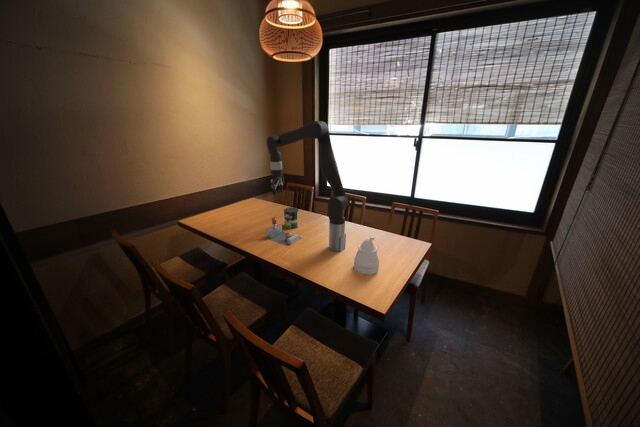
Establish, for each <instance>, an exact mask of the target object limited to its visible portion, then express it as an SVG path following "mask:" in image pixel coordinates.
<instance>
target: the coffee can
mask: <svg viewBox="0 0 640 427" xmlns="http://www.w3.org/2000/svg"><path fill="white" fill-rule="evenodd" d="M283 215H284V216H283V217H284V228H286V229H288V230H293V229H297V228H299V226H300V225H299V224H300V223H299V208H297V207H291V206H290V207H285V208H284V209H283Z"/></svg>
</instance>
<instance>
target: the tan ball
mask: <svg viewBox="0 0 640 427" xmlns="http://www.w3.org/2000/svg"><path fill="white" fill-rule="evenodd" d="M285 233H286V237H287V238H290V237H291V236H292V235H293V233H292V232H290V231H287V232H285Z"/></svg>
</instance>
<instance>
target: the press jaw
mask: <svg viewBox="0 0 640 427" xmlns="http://www.w3.org/2000/svg"><path fill="white" fill-rule="evenodd" d="M271 222H272V224H271V225H272V227H270V228H269V229H266V234H267V235H266V236H267V237H268V238H272V237H274V236H276V235H278V234H280V233H282V232H283V225H281V224H277V217H272V218H271Z"/></svg>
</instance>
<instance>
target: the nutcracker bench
mask: <svg viewBox="0 0 640 427" xmlns="http://www.w3.org/2000/svg"><path fill="white" fill-rule="evenodd" d="M286 233H287V232H285V231H282V233H280V234H278V235H276V236H274V237H272V238H268V237H267V235H266V236H264V237H263V239H267V240H269V241H271V242H275V243H277V244H280V245H283V246H287V247H289V246H291V245H294V243H296V242H298V241H299V240H301V239H302V237H301V236H300V234H297V233H296V234H292V236H291V237H290V238H287V237H286Z"/></svg>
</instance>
